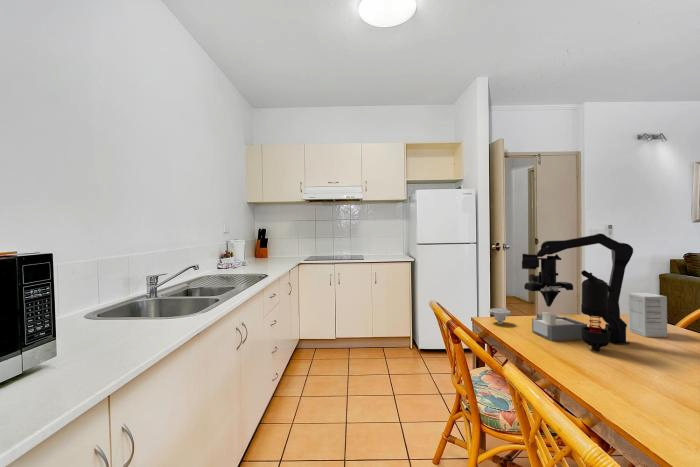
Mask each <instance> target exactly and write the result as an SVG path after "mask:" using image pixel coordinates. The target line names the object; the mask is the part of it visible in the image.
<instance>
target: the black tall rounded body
mask: <svg viewBox="0 0 700 467" xmlns="http://www.w3.org/2000/svg"><path fill="white" fill-rule="evenodd" d="M580 274H581V275H582V276H583V277H584V278H586V279H584V280H583V281H582V282H581V304H580V306H581V307H580V310H581V311H580V312H581V313H582V314H583V315H585V316H588V317H590V319H589V320H588V321H589V324H590V325H589V326H587V327H582V328H581V330H582V339H581V340H582V341H583V342H584V343H585V344H586V345H588V346H589V347H591V350H592V351H593V352H594V351H595V352H600V351H601V348H604V347H607V346H608V345H609V344H611V343H610V334H611V332H610V331H609V330H606V329H605V328H602V326H601V323H602V321H601V320H600V319H602V317H606V316H608V292H613V291H614V289H613V288H612V287H610V286H609V282H606V281H605V280H604V279H601V278H598V277H597V276H595V275H593V273H592V272H589V271H587V270H585V269H583V270H581V272H580ZM592 318H595V319H592ZM596 318H597V319H596ZM595 324H598V325H595Z"/></svg>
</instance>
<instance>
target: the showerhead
mask: <svg viewBox="0 0 700 467" xmlns="http://www.w3.org/2000/svg"><path fill="white" fill-rule="evenodd" d="M488 312H489V314H491V315H493V316H494V317H493V318H494V320H495V321H497V322H496V323H497V324H498V325H503V322H504V321H506V317H508V316H511V312H512V311H511V310H509V308H508V307H506V308H501V307H496V308H494V307H493V308H490V309H489V310H488Z"/></svg>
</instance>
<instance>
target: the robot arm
mask: <svg viewBox="0 0 700 467" xmlns="http://www.w3.org/2000/svg"><path fill="white" fill-rule="evenodd" d="M596 244H597V245H598V244H599V245H601V246H603V247H605V248H607V249H608V250H610V251H611V262H612V263H611V264H612V266H611V271H610V275H609V282H608V285H609V286H610V287H612V288H613V289H614V291H613V292H608V316H606V317H601V319H602V320H603V321H604V322H605V325H604V326H605V327H604V329H606V330H609V331H610V332H611V334H610V343H609V344H613V345H629V344H630V341H628V340H627V327H628V323H626V322H625V321H624V320H623V318H621V310H620V302H619V301H620V296H621V292H622V291H621V290H622V287H623V282H624V275H625V272H626V267H627V265H628V263H629V262H630V260H631V258H632V256H633V254H634V248H633V247H632V246H631V245H630V244H628V243H625V242H619V241H617V240H615V239H613V238H610V237H609V236H606V235H605V233H595V234H591V235H587V236H580V237H575V238H569V239H564V240H561V239H560V240H557V239H556V240H545V241H543V242H542V243H541V244H540V249H539V250H538V251H537V252H536V254H535V253H534V254H532V253H531V254H530V253H522V261H521V269H522V270H534V271H535V270H536V271H537V269H538V268H540V271H538V275H536V274H534V273H533V274H528V280H529V282H526V283H524V290H526V291H530V292H539V293H541V294H542V297H543V299H544V302H545V304H546V307H548V308H549V307H550V308H551V306H552V305H553V302H554V301H555V299H556V297H558V295H559V293H561V292H562V291H561V290H559V289H564V290H566V291H573V290H574V284H572V283H571V282H569V281H557V277H558V276H559V273H558V272H557V261H561V260H562V257H560V256H559V255H558V254H557V253H559V252H562V251H565V250H568V249H575V248H579V247H580V248H581V247H586V246H591V245H596ZM553 254H555V255H553ZM545 256H546V257H545Z"/></svg>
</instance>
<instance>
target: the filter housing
mask: <svg viewBox="0 0 700 467" xmlns="http://www.w3.org/2000/svg"><path fill="white" fill-rule="evenodd" d="M533 319H535V320H542V313H541V314H536V318H535V317H534V318H532V319H531V328H532V329H531V332H532V333H533V334H536V335H538V336H540V337H541V338H544V339H547V340H549V341H551V342H557V341H559V340H560V341H571V340H572V341H574V340H573V339H577V340H583V339H582V330H581V328H582V327H588V324H587V323H584V322H581V321H578V320H576V319H573V318H570V317H567V316H558V315H556V319H563V320H566V321H568V322H571V323H574V324H566V325H549V337H547V336H545V335H543V334H540V333H538V332H536V331H534V330H533Z"/></svg>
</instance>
